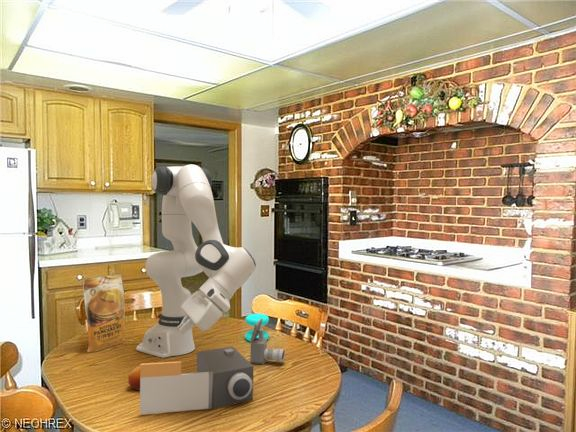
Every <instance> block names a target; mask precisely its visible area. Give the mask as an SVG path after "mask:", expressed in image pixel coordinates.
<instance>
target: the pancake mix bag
mask: <svg viewBox="0 0 576 432" xmlns="http://www.w3.org/2000/svg"><path fill="white" fill-rule="evenodd" d="M82 296H83V298H84V299H83V300H84V310H85V315H86V319H87V333H88V335H87V336H88V345H87V346H88V347H87V352H86V353H96V352H101V351H104V350H107V349H111V348H113V347H116V346H119V345H121V344H123V342H125V340H126V339H125V323H126V322H125V318H126V317H125V316H126V313H125V312H126V308H125V307H126V305H125V302H126V301H125V299H126V297H125V289H124V281H123V275H122V274H120V273H113V274H107V275H100V276H99V275H98V276H93V277H89V278H84V280H83V281H82Z"/></svg>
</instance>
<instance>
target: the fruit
mask: <svg viewBox="0 0 576 432" xmlns="http://www.w3.org/2000/svg"><path fill="white" fill-rule="evenodd" d="M127 380H128V381H127V382H128V384H129V386H130V388H131V389H133V390H136V391H140V365H138V366H136V367H134V368H133V369H132V370H131V371H130V372H129V373H128V375H127Z"/></svg>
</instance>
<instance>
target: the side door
mask: <svg viewBox="0 0 576 432" xmlns="http://www.w3.org/2000/svg"><path fill="white" fill-rule="evenodd" d="M139 366H140V390H139V415H149V414H162V413H173V412H184V411H186V412H187V411H195V410H208V409H209V410H212V409H213V408H212V389H213V372H201V373H197V372H188V373H182V361H181V360H180V361H166V362H165V361H164V362H162V361H161V362H148V363H147V362H146V363H144V362H143V363H140V364H139Z"/></svg>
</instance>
